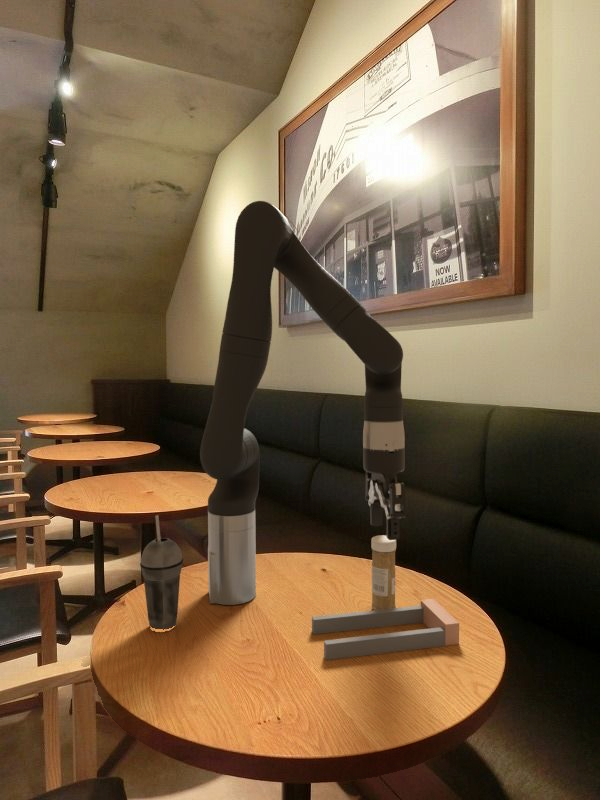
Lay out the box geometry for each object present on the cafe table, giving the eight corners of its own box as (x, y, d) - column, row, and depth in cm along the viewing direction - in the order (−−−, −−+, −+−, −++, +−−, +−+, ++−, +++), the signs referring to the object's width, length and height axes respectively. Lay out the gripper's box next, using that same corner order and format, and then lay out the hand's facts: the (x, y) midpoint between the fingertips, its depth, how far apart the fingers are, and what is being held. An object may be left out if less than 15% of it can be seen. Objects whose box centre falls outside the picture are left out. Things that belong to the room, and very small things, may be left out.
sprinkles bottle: (400, 610, 99) (401, 539, 99) (382, 616, 97) (382, 543, 96) (384, 601, 103) (384, 532, 102) (366, 607, 101) (366, 537, 100)
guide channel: (326, 660, 82) (326, 638, 82) (311, 631, 92) (311, 611, 91) (458, 643, 87) (459, 623, 87) (432, 617, 96) (433, 598, 96)
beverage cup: (192, 620, 96) (190, 510, 95) (169, 639, 89) (167, 521, 88) (157, 614, 98) (155, 506, 97) (132, 632, 91) (129, 517, 90)
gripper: (352, 441, 104) (353, 523, 105) (377, 451, 90) (378, 546, 91) (388, 439, 106) (389, 520, 107) (419, 449, 92) (419, 542, 93)
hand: (384, 532), depth 99 cm, fingers open, 8 cm apart
